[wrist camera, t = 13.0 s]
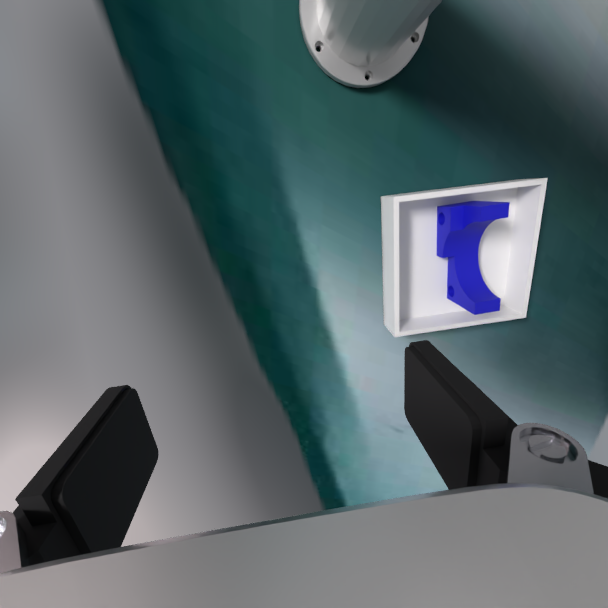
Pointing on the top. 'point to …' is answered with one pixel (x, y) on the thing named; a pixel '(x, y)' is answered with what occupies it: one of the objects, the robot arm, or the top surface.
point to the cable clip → (467, 251)
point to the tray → (433, 269)
